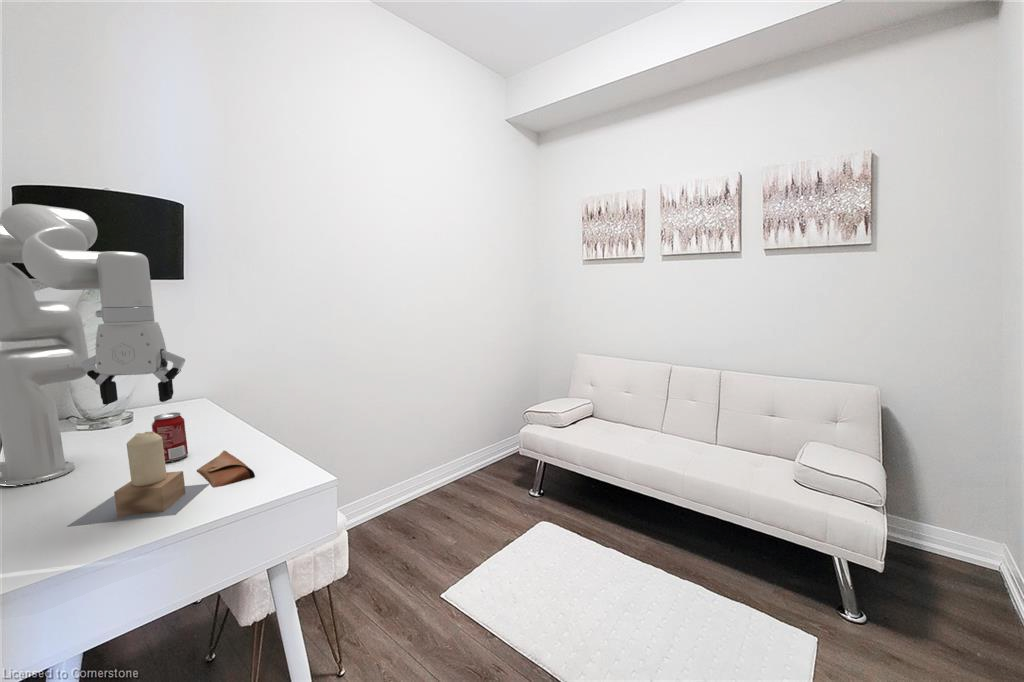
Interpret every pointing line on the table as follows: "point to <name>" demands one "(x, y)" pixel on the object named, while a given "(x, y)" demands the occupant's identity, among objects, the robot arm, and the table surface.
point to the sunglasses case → (225, 470)
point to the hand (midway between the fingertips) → (138, 401)
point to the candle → (146, 459)
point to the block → (150, 495)
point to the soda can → (171, 435)
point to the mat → (109, 514)
